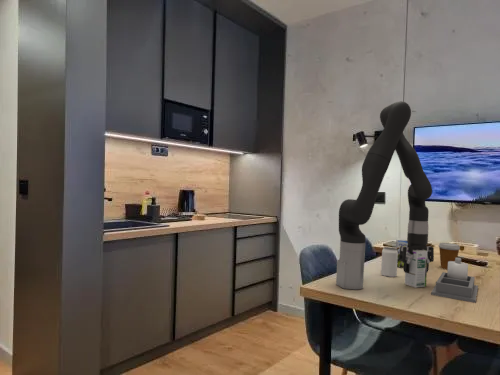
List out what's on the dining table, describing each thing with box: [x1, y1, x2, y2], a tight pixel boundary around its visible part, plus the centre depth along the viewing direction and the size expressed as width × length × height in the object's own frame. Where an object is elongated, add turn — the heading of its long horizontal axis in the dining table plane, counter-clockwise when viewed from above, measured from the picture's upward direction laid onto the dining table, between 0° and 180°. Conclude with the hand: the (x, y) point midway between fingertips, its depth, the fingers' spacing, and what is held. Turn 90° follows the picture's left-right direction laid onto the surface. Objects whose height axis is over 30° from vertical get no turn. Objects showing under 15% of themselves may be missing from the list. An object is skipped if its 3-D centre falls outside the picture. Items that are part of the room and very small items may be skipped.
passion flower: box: [395, 247, 404, 269], centre depth 187 cm, size 11×11×12 cm
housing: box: [430, 257, 479, 304], centre depth 145 cm, size 24×14×12 cm, turn 147°
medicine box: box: [395, 239, 408, 251], centre depth 219 cm, size 8×4×9 cm, turn 81°
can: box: [380, 246, 398, 278], centre depth 166 cm, size 6×6×12 cm
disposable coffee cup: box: [438, 242, 461, 270], centre depth 187 cm, size 10×10×12 cm
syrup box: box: [404, 250, 428, 289], centre depth 151 cm, size 6×6×14 cm
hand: (415, 272), depth 151 cm, fingers open, 8 cm apart
